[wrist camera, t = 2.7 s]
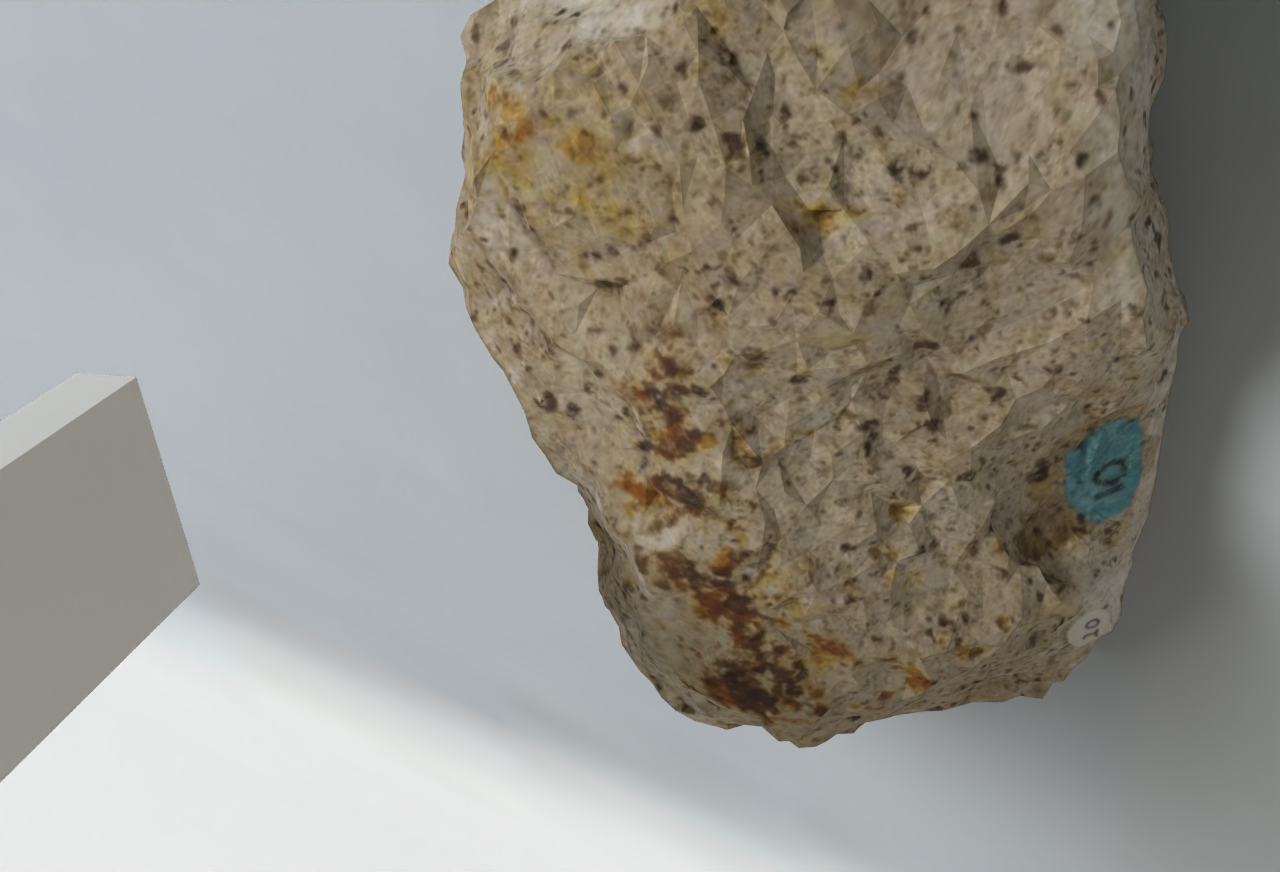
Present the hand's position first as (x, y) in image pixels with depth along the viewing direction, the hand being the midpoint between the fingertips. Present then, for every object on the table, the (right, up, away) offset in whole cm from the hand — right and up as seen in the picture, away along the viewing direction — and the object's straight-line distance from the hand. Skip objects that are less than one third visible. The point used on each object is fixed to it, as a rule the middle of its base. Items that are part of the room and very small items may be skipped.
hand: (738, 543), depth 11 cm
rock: (+2, +3, +4) cm, 6 cm away
